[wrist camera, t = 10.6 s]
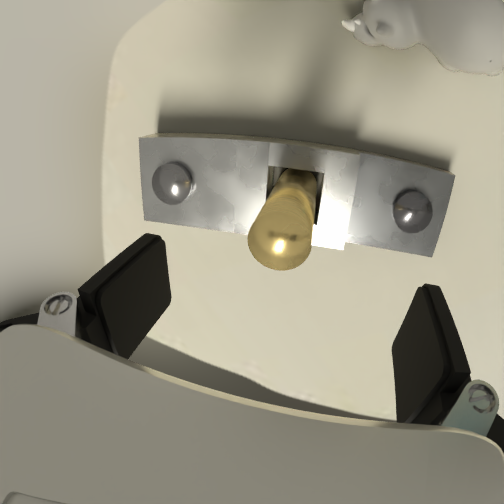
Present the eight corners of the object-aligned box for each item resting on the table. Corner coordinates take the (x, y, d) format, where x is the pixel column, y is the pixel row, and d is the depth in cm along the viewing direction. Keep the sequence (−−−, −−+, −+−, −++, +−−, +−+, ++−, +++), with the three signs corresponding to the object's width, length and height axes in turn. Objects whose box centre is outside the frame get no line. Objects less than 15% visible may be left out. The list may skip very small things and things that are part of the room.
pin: (280, 164, 22) (249, 207, 13) (319, 169, 21) (316, 217, 13) (276, 201, 23) (246, 264, 15) (314, 206, 23) (306, 274, 14)
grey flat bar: (448, 171, 18) (466, 182, 15) (427, 249, 22) (439, 269, 19) (157, 133, 22) (134, 138, 20) (160, 208, 26) (140, 223, 23)
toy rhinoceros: (353, 1, 16) (309, -40, 10) (491, 5, 9) (506, -39, 3) (366, 76, 19) (330, 60, 13) (507, 88, 12) (540, 77, 6)
